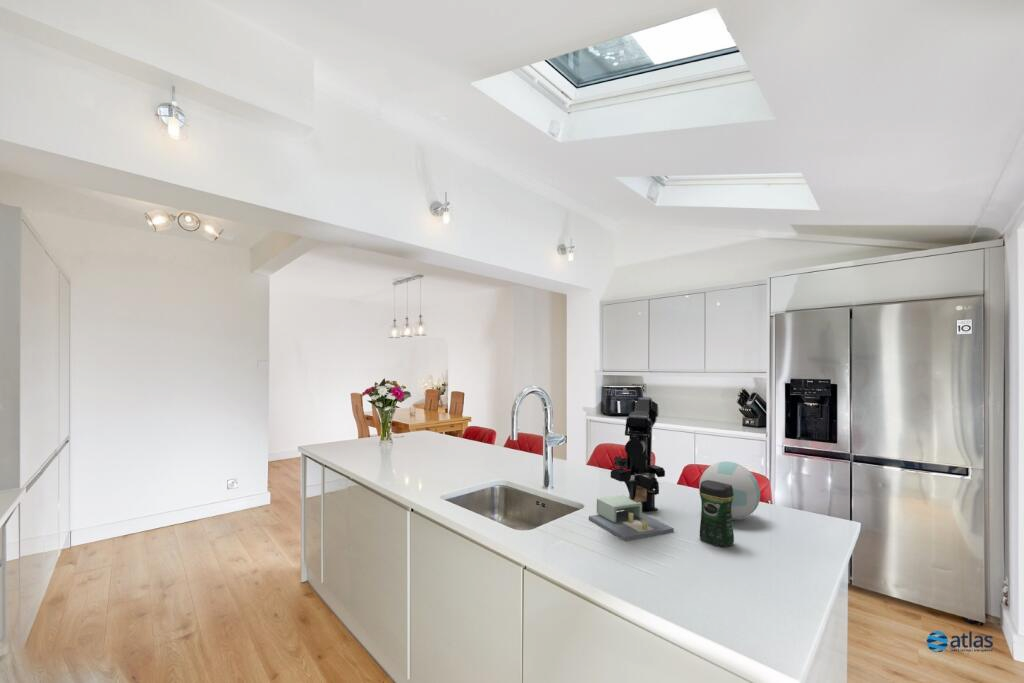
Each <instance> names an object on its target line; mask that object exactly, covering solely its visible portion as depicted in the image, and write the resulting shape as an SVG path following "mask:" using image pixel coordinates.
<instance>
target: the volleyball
mask: <svg viewBox="0 0 1024 683" xmlns="http://www.w3.org/2000/svg"><path fill="white" fill-rule="evenodd" d="M705 480H711V481H716V482H720V483H725V484H729V485H732V488H733V494H734V499H733V501H732V505H731V513H732V521H733V520H742V519H744V518H747V517H749V516H750V515H751V514H753V513H754V512H755V511H756V510H757V508H758V507H759V506H758V505H759V503H760V500H761V489H760V485H759V483H758V481H757V478H756V477H755V476H754V474H753V473H752V472H751V470H749V469H748V468H746V467H745V466H743V465H741V464H739V463H736V462H733V461H720V462H715V463H713V464H712V465H710V466H708V467H707V468H706V469H705V470H704V471H703V473H702V474H701V477H700V478H699V485H698V487H699V488H698V489H699V491H698V492H700V485H701V482H702V481H705Z"/></svg>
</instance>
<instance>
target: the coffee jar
mask: <svg viewBox="0 0 1024 683" xmlns="http://www.w3.org/2000/svg"><path fill="white" fill-rule="evenodd" d="M698 493H699V497H700V500H701V501H700V502H701V507H700V508H701V513H700V523H699V525H700V526H699V539H701V541H703V542H706V543H709V544H711V545H715V546H720V547H731V546H732V545H733V544H734V543H735V536H734V526H733V520H732V513H731V505H732V501H733V499H734V494H733V488H732V485H729V484H725V483H720V482H716V481H711V480H705V481H702V482H701V485H700V491H698Z"/></svg>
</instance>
